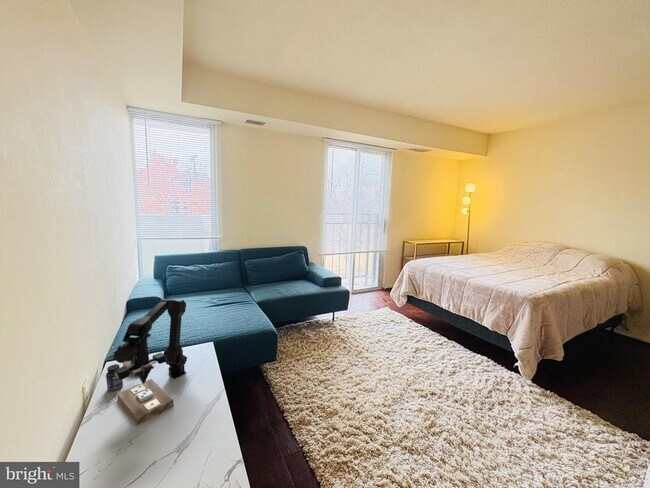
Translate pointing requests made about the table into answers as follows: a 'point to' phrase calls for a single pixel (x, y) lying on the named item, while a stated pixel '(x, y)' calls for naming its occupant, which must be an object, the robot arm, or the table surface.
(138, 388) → the two pip button
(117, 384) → the pill bottle
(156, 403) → the one pip button
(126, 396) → the board
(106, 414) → the table surface
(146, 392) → the three pip button
